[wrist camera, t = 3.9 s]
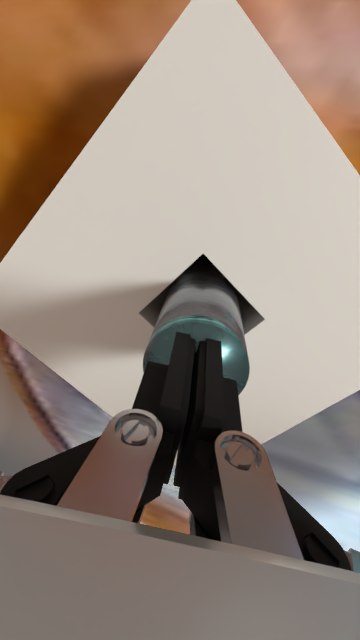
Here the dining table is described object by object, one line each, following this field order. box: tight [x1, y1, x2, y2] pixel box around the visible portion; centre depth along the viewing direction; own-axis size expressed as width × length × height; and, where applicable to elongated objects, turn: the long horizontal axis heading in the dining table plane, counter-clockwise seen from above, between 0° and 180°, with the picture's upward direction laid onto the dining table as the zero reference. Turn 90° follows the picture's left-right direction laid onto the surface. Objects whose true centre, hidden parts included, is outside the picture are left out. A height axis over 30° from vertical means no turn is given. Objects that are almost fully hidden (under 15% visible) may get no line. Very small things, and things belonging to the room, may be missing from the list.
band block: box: [0, 0, 360, 467], centre depth 19 cm, size 18×18×8 cm
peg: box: [143, 263, 250, 396], centre depth 15 cm, size 4×4×8 cm
